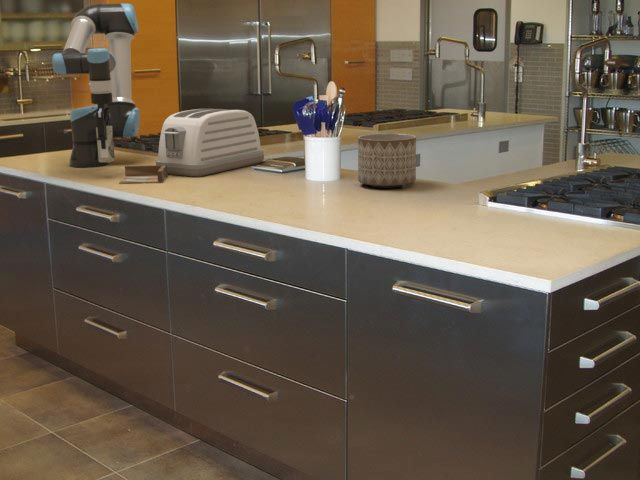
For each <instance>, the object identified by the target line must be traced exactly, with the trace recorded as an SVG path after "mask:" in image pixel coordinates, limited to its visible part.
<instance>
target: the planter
mask: <svg viewBox="0 0 640 480" xmlns="http://www.w3.org/2000/svg"><path fill="white" fill-rule="evenodd" d="M416 168H417V135H414V134H408V133H397V132H394V133H393V132H389V133H387V132H386V133H368V134H360V135H359V136H358V137H357V178H358V179H357V180H358V182H359V183H360V184H362V185H368V186H371V187H372V188H376V189H377V188H379V189H395V188H400V187H403V186H406V185H410V184H413V183H415V182H416V180H417V175H416V174H417V169H416Z"/></svg>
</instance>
